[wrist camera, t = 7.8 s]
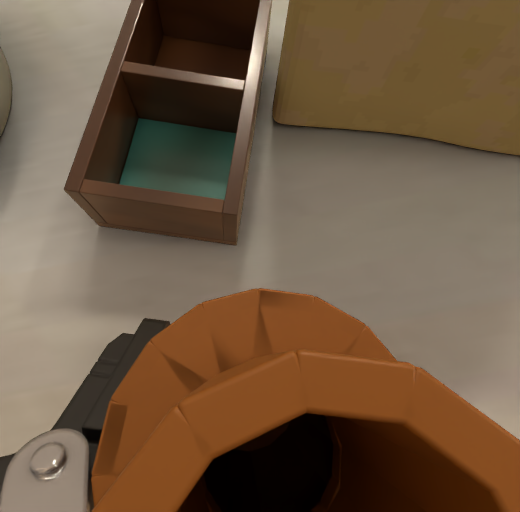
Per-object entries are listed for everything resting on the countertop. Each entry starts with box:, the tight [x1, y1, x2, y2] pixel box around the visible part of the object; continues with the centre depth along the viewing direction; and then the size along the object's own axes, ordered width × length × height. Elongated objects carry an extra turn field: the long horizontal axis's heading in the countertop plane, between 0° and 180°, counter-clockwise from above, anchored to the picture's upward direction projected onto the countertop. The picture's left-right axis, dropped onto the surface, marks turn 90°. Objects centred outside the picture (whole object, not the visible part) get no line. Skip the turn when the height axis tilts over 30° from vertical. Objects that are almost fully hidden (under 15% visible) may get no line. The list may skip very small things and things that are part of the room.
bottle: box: [91, 288, 520, 512], centre depth 9 cm, size 6×6×16 cm
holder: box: [64, 0, 272, 245], centre depth 21 cm, size 9×17×5 cm, turn 173°
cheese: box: [272, 0, 520, 155], centre depth 18 cm, size 22×10×15 cm, turn 75°
